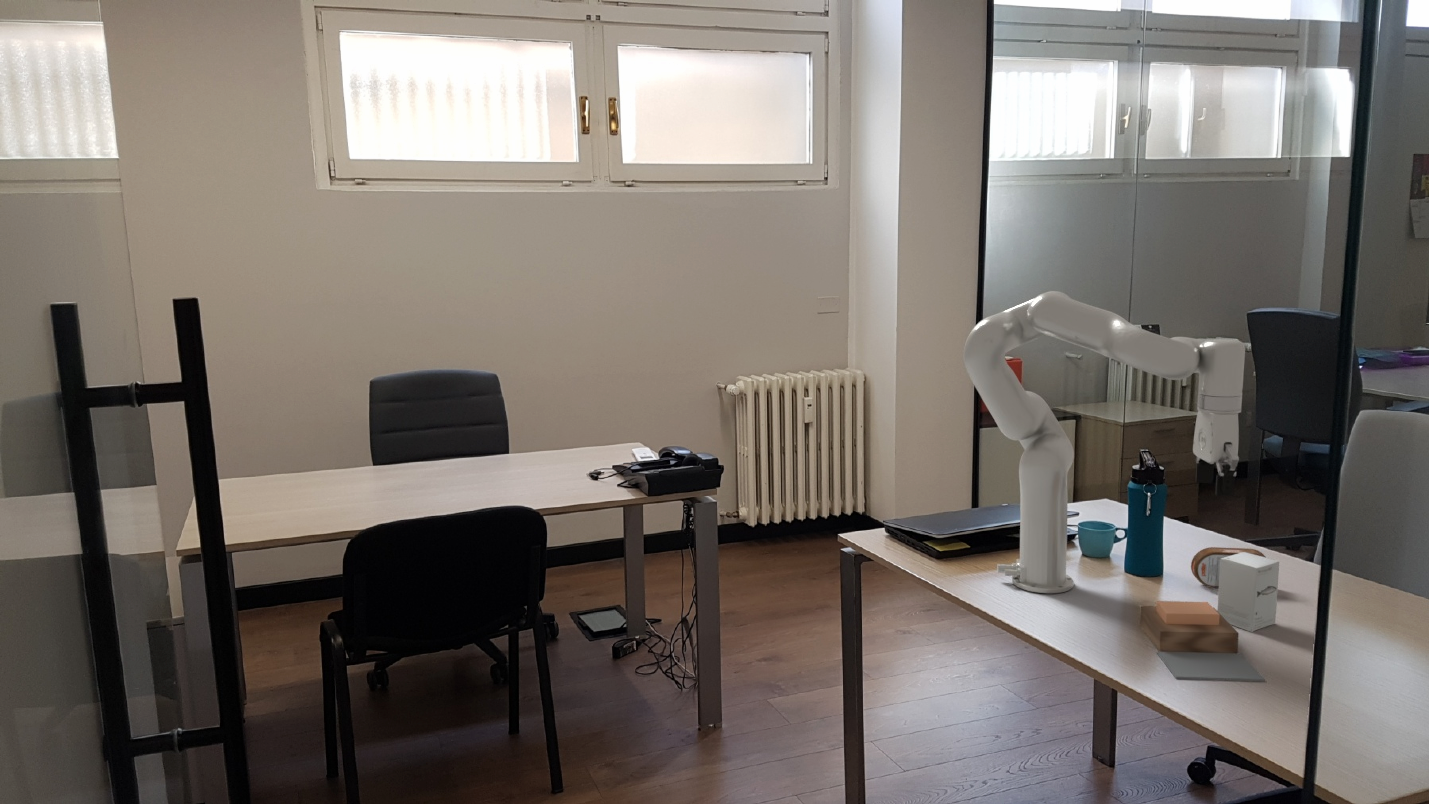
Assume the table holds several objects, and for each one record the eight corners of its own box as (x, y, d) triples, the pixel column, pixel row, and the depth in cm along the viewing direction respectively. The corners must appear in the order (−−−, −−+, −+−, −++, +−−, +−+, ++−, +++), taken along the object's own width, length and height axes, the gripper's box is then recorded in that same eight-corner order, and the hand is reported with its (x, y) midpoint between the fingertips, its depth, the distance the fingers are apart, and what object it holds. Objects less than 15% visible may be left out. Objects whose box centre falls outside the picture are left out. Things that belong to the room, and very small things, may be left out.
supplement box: (1252, 633, 175) (1256, 568, 173) (1215, 619, 182) (1218, 557, 180) (1277, 624, 178) (1281, 560, 176) (1239, 611, 185) (1243, 550, 183)
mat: (1175, 678, 158) (1175, 676, 158) (1157, 653, 168) (1157, 651, 168) (1265, 681, 156) (1265, 679, 156) (1241, 655, 166) (1241, 653, 166)
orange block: (1166, 623, 171) (1166, 613, 171) (1155, 611, 177) (1156, 600, 176) (1219, 624, 170) (1219, 614, 169) (1207, 612, 175) (1207, 601, 175)
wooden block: (1159, 652, 168) (1160, 631, 168) (1140, 625, 180) (1140, 605, 180) (1237, 654, 166) (1238, 633, 166) (1212, 627, 178) (1213, 607, 178)
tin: (1266, 585, 198) (1269, 547, 197) (1272, 591, 195) (1274, 552, 193) (1189, 583, 201) (1191, 545, 200) (1193, 588, 198) (1195, 550, 197)
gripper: (1182, 396, 191) (1177, 478, 194) (1217, 411, 174) (1211, 500, 177) (1221, 395, 190) (1216, 478, 193) (1260, 411, 173) (1254, 501, 176)
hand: (1214, 489), depth 185 cm, fingers open, 9 cm apart
